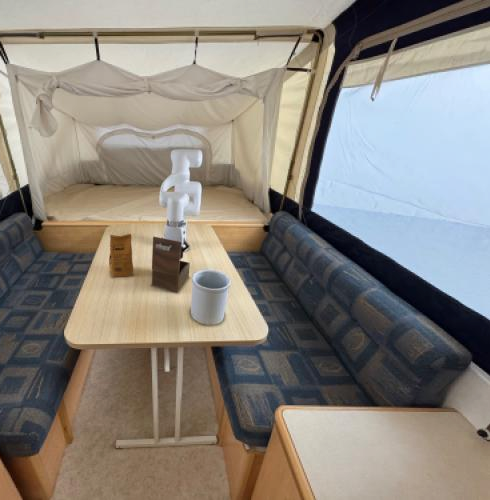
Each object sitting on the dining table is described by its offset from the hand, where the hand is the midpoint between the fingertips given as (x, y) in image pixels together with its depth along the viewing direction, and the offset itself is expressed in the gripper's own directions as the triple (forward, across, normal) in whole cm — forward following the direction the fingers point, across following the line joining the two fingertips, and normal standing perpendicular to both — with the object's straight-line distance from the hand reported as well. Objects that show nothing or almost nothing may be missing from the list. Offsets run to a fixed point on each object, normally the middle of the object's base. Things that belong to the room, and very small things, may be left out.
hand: (173, 257), depth 131 cm
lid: (-5, 0, +9) cm, 10 cm away
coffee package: (+13, +27, +6) cm, 31 cm away
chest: (+13, 0, +2) cm, 13 cm away
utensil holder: (+13, -24, +19) cm, 33 cm away
